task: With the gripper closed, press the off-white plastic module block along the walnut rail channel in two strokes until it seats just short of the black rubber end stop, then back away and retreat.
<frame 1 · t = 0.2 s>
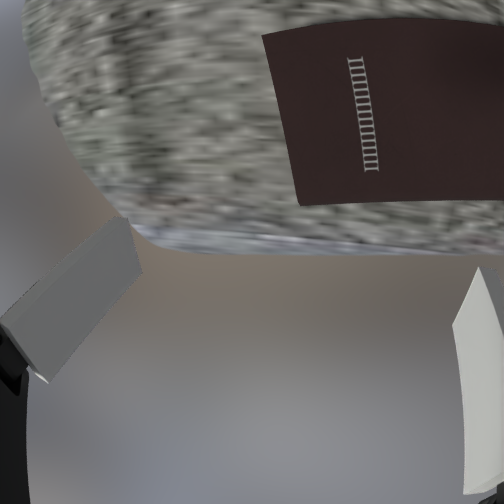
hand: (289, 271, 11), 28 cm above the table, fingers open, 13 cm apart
book: (412, 107, 29), on the table
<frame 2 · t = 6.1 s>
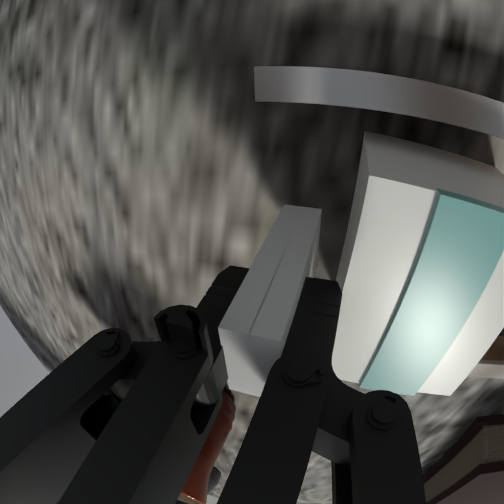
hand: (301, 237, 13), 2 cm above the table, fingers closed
mug: (187, 381, 27), on the table
book: (495, 459, 23), on the table
module: (412, 232, 13), on the table, touching gripper
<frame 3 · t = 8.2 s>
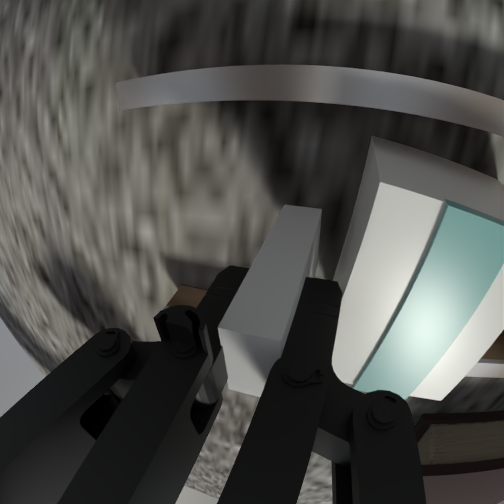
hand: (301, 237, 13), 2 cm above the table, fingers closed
book: (459, 461, 24), on the table
rail board: (427, 236, 12), on the table
module: (411, 237, 13), on the table, touching gripper
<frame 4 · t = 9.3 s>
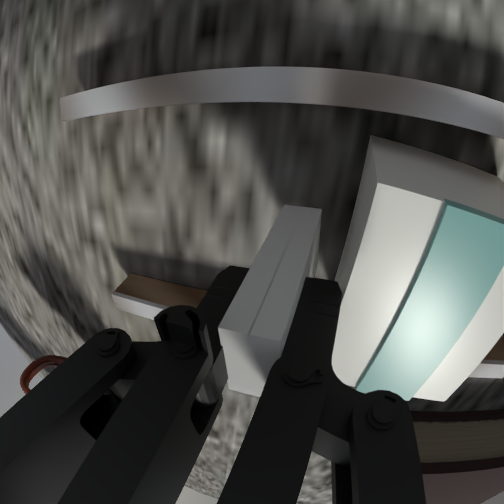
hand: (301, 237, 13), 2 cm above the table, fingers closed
mug: (107, 351, 30), on the table
book: (429, 462, 25), on the table
rail board: (341, 224, 14), on the table
module: (412, 237, 13), on the table, touching gripper
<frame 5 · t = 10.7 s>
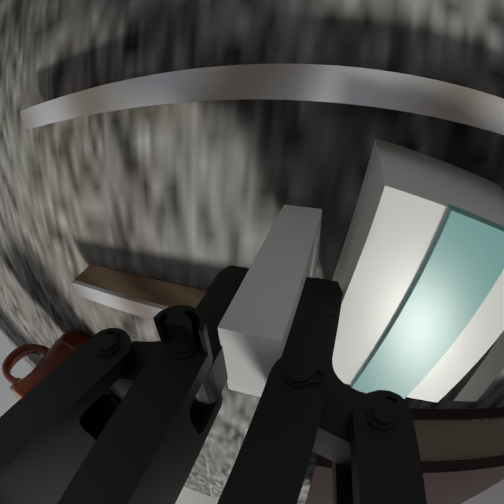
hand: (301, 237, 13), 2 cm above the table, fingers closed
mug: (82, 341, 31), on the table
book: (400, 461, 26), on the table
rail board: (255, 212, 15), on the table
module: (411, 240, 13), on the table
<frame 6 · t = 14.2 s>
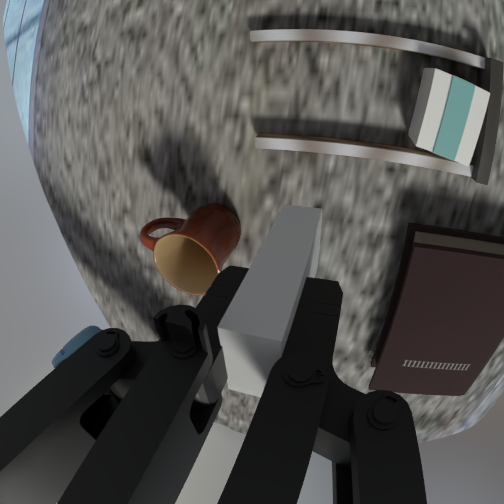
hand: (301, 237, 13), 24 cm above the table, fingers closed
mug: (209, 218, 44), on the table
book: (447, 311, 40), on the table
rail board: (376, 95, 28), on the table
module: (440, 110, 27), on the table
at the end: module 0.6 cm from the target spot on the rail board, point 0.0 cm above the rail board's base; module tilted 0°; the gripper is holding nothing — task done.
